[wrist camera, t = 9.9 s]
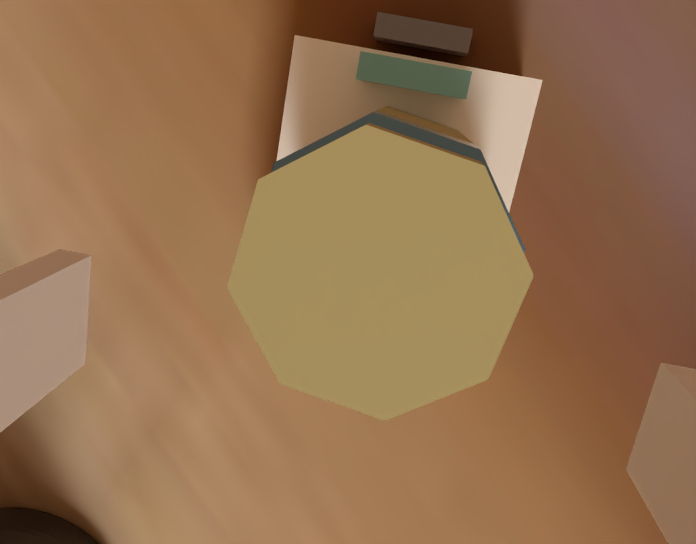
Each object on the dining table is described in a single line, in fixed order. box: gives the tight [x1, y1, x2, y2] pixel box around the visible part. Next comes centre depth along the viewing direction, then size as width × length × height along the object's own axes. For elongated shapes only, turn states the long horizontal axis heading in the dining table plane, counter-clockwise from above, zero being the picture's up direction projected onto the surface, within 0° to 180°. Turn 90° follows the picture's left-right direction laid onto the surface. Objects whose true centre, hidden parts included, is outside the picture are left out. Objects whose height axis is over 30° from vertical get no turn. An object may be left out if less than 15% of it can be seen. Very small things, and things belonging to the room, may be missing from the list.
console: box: [277, 12, 542, 212], centre depth 32 cm, size 12×28×8 cm, turn 170°
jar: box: [227, 106, 534, 421], centre depth 25 cm, size 9×9×15 cm
